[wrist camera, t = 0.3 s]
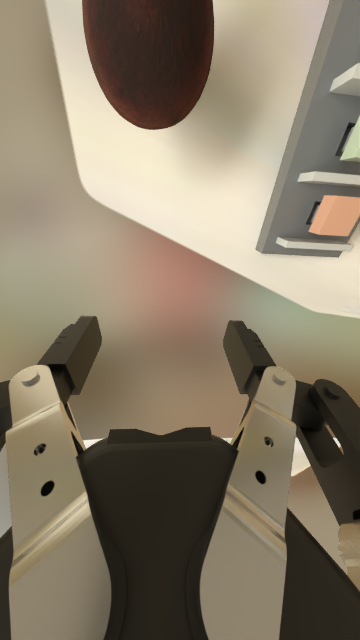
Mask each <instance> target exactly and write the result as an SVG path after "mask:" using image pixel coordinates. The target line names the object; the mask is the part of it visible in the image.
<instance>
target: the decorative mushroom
mask: <svg viewBox="0 0 360 640" xmlns="http://www.w3.org/2000/svg"><path fill="white" fill-rule="evenodd" d="M82 7H83V25H84V33H85V39H86V44H87V49H88V53H89V57H90V61H91V64H92V67H93V70H94V73H95V75H96V78H97V80H98V83H99V85H100V87H101V89H102V91H103V93H104V95H105V96H106V98H107V100H108V101H109V102H110V104H111V105H112V106H113V108H114V109H115V110H116V111H117V112H118V113H119V115H121V116H122V117H123V118H124V119H125V120H127V121H128V122H130V123H132V124H133V125H135V126H137V127H140V128H144V129H149V130H157V129H164V128H168V127H171V126H174V125H176V124H177V123H179V122H180V121H182V120H183V119H184V118H185V117H186V116H187V115H188V114H189V113H190V111H191V110H192V109H193V108H194V106H195V105H196V103H197V101H198V100H199V98H200V96H201V94H202V91H203V89H204V87H205V84H206V81H207V78H208V75H209V71H210V66H211V60H212V54H213V45H214V14H213V1H212V0H82Z"/></svg>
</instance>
